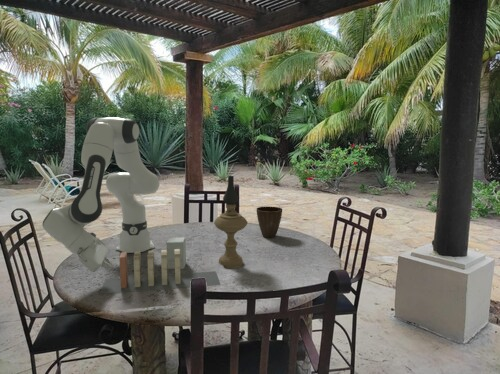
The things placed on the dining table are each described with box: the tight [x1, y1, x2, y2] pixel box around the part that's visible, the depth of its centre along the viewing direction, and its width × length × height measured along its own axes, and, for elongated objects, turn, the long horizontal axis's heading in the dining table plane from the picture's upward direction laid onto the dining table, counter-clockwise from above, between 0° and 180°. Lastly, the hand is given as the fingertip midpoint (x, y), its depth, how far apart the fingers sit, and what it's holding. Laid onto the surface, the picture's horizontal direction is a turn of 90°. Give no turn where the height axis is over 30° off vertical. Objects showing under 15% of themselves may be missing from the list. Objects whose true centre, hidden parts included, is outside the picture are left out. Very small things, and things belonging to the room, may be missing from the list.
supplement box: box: [165, 237, 187, 270], centre depth 159 cm, size 7×7×13 cm
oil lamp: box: [213, 175, 248, 269], centre depth 162 cm, size 15×15×40 cm
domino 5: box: [174, 249, 181, 284], centre depth 142 cm, size 6×2×12 cm, turn 13°
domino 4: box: [160, 249, 168, 285], centre depth 141 cm, size 6×2×12 cm, turn 13°
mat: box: [98, 270, 221, 295], centre depth 142 cm, size 14×44×1 cm, turn 103°
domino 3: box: [147, 249, 155, 286], centre depth 140 cm, size 6×2×12 cm, turn 12°
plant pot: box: [255, 206, 283, 239], centre depth 209 cm, size 15×15×16 cm
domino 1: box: [118, 251, 129, 288], centre depth 138 cm, size 6×2×12 cm, turn 12°
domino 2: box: [133, 251, 142, 287], centre depth 139 cm, size 6×2×12 cm, turn 12°
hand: (112, 268), depth 137 cm, fingers closed
